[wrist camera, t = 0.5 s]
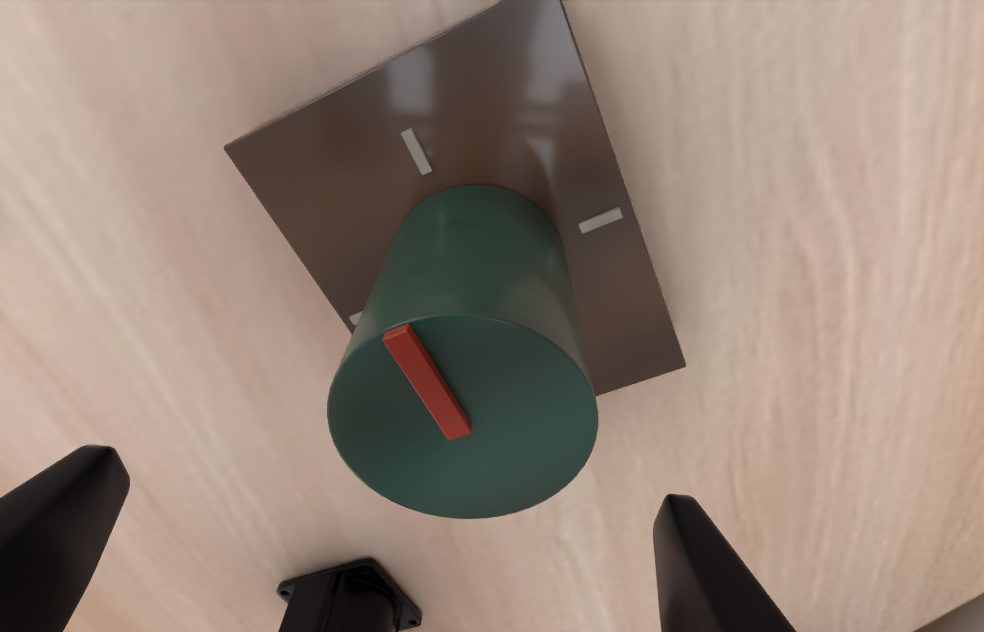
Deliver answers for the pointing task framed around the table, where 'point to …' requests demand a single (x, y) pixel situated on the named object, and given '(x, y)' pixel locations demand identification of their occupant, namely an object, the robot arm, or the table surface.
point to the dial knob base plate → (468, 172)
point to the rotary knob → (467, 363)
